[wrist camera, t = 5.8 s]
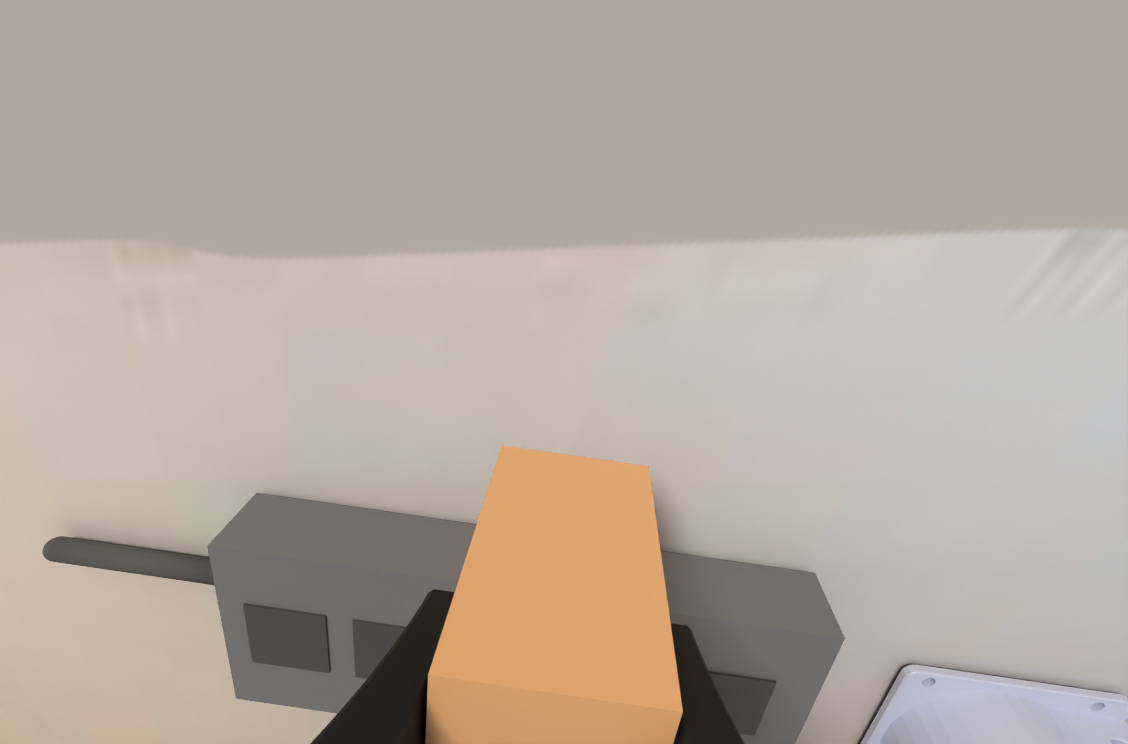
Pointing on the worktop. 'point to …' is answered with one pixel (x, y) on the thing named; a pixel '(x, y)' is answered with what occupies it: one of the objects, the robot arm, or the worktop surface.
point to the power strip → (434, 561)
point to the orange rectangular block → (558, 613)
